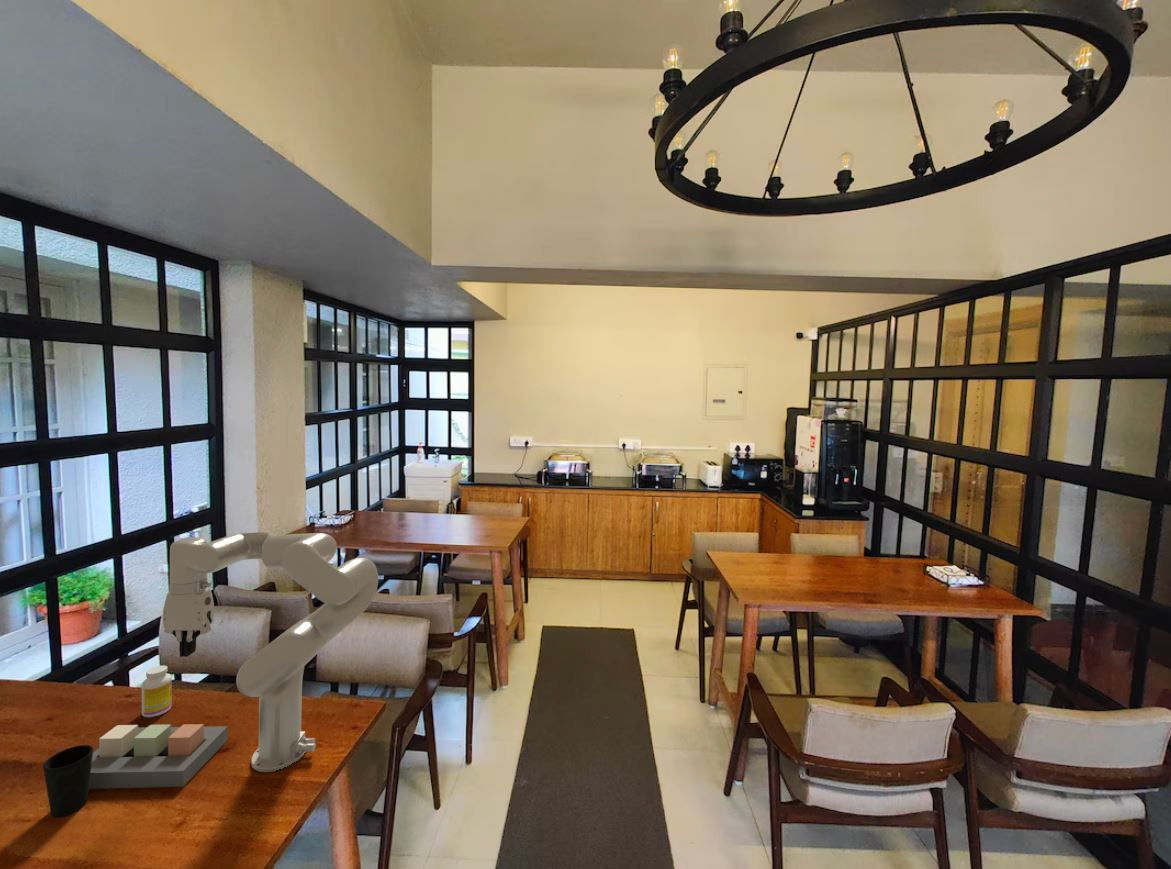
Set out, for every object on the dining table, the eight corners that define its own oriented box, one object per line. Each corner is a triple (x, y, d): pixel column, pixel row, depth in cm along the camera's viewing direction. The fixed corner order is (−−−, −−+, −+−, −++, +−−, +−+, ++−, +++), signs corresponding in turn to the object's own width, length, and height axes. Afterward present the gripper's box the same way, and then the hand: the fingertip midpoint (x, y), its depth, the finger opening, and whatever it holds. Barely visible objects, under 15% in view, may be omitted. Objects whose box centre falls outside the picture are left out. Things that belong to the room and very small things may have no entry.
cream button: (138, 743, 123) (138, 724, 123) (121, 757, 118) (120, 738, 118) (117, 743, 122) (117, 725, 122) (99, 757, 117) (99, 738, 117)
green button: (171, 742, 124) (171, 724, 123) (155, 756, 119) (155, 737, 118) (150, 743, 123) (150, 724, 123) (134, 757, 118) (133, 738, 118)
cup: (92, 788, 113) (91, 739, 112) (95, 806, 108) (95, 755, 107) (43, 808, 107) (42, 757, 106) (44, 828, 102) (43, 775, 101)
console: (227, 740, 130) (227, 726, 130) (183, 786, 114) (183, 770, 114) (125, 741, 128) (125, 727, 128) (66, 789, 112) (66, 773, 112)
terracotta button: (203, 742, 124) (203, 724, 124) (189, 756, 119) (189, 737, 119) (183, 742, 124) (183, 724, 124) (168, 756, 119) (168, 737, 119)
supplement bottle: (175, 709, 142) (175, 668, 141) (146, 721, 136) (146, 678, 135) (166, 701, 145) (167, 661, 144) (138, 712, 139) (138, 670, 139)
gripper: (228, 581, 127) (227, 647, 128) (169, 580, 126) (168, 646, 127) (208, 592, 120) (207, 662, 121) (145, 590, 119) (145, 661, 120)
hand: (187, 654), depth 124 cm, fingers closed
